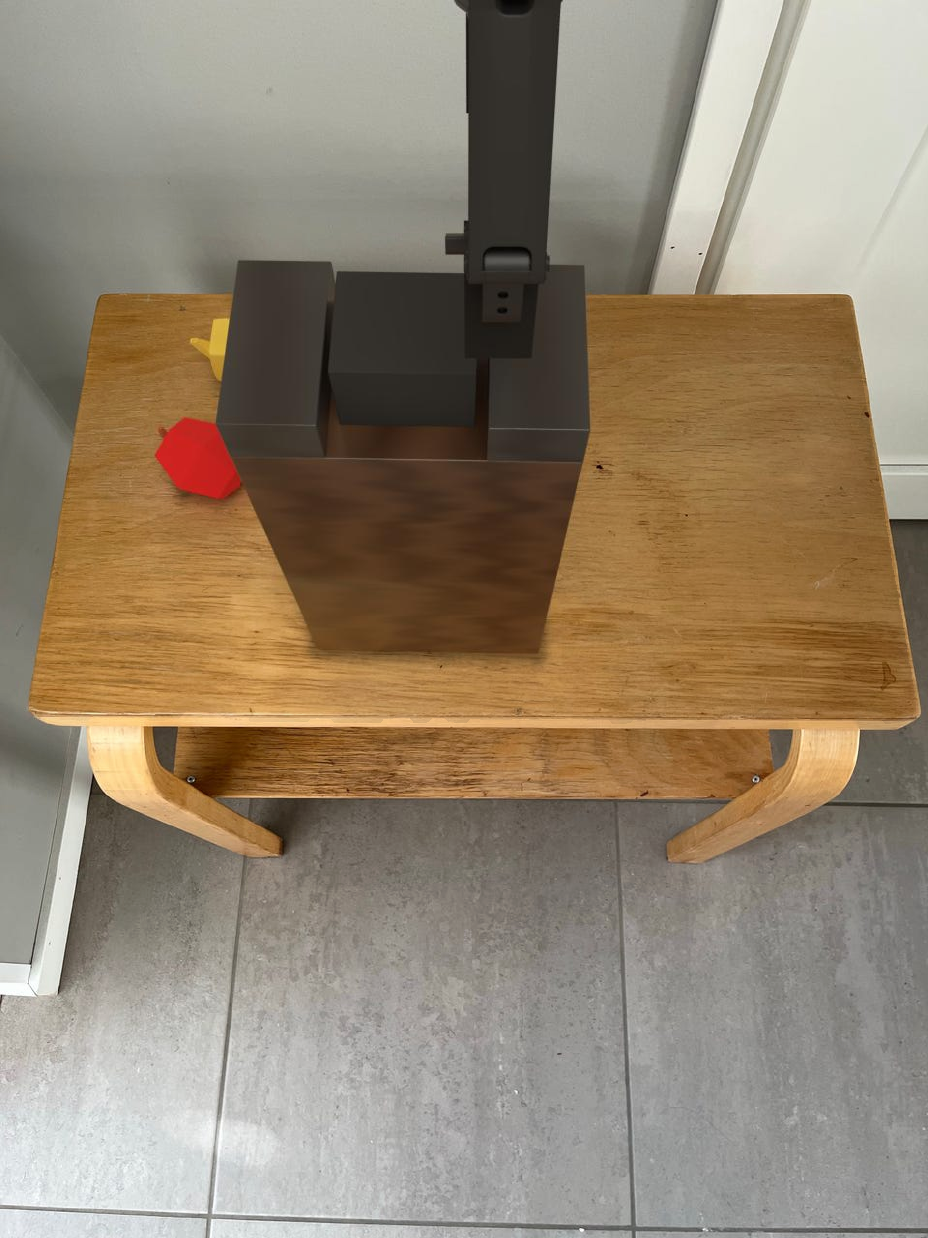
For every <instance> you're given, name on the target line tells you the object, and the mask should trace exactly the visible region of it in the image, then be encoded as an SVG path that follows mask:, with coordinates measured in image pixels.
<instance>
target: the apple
mask: <svg viewBox="0 0 928 1238" xmlns="http://www.w3.org/2000/svg"><path fill="white" fill-rule="evenodd" d="M215 423H216V422H209V421H204V420H201V419H196V418H191V417H186V416H184V417H183V418H181V419H180V420H179V421H178V422H177V423H175V424H174V425H173V426H172V427H170V428H169V429H168V430H166V428H165V427H164V426H162V425H159V426H158V427H157V431H158V435H159V436H160V438H161V439H163V440H162V441H161V443H160V445H159V446H158V448H157V450H156V452H155V453H154V455H153V456H154V458H156V461H158V463H159V464H160V466H161V467H162V468H163V470H164V472H165V473H166V474H167V475H168V476H169V478H170V479H171V481H172V482H173V483H174V484H175V486H176V487H177V489H178V490H181V491H184V492H188V493H191V494H197V495H200V496H205V497H207V498H208V497H209V498H213V499H217V500H221V501H223V500H224V499H226V498H227V497H229V495H231V494H232V493H233V492H234V491H237V490H238V489H239V488H240V487H241V484H242V482H241V479H240V477H239V475H238V473H237V471H236V468H235V466H234V464H233V462H232V460H231V457H230V455H229V453H228V451H227V449H226V446H225V444H224V442H223V440H222V438H221V435H220V433H219V431H218V429H217V427H216V424H215Z"/></svg>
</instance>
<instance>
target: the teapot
mask: <svg viewBox="0 0 928 1238" xmlns="http://www.w3.org/2000/svg"><path fill="white" fill-rule="evenodd" d="M229 320H230V317H229V318H215V319H213V321H212V325H211V331H210V339H209V340H206V339H202V338H199V337H192V338H190V340H189V344H190V345H191V346H193V347H194V348H195V349H196V350H198V351H199V352H200V353H202V354H203V355H204V356H205V357H206V358H208V359H209V363H210V366H211V369H212V373H213V375H214V377H215V379H216V380H217V381H218V382H221V379H222V372H223V364H224V357H225V350H226V342H227V335H228V328H229Z"/></svg>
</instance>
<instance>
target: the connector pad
mask: <svg viewBox="0 0 928 1238" xmlns="http://www.w3.org/2000/svg"><path fill="white" fill-rule="evenodd" d="M335 283H336V285H335V296H334V308H333V319H332V331H331V342H330V353H329V365H328V374H329V379H330V383H331V387H332V392H333V396H334V401H335V405H336V409H337V414H338V418H339V422H340V424H341V425H396V426H455V427H475V408H476V358H465V334H464V272H420V271H419V272H418V271H417V272H414V271H355V270H353V271H351V270H337V271H336V275H335Z"/></svg>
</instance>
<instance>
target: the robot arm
mask: <svg viewBox="0 0 928 1238" xmlns="http://www.w3.org/2000/svg"><path fill="white" fill-rule="evenodd" d="M563 1H564V0H453V2H454V4H455V5H456V7H458V8H459V9H461V10H462V11H463V12H464V13H465V113H466V114H467V220H466V219H463V232H462V233H461V232H460V233H459V232H458V233H454V232H453V233H451V232H450V233H445V234H444V235H445V236H444V249H445V250H444V253H445V255H446V256H461V255H462V256H463V273H464V334H465V358H531V357H532V347H533V337H534V327H535V317H536V307H537V297H538V287H539V284H544V282H545V280H547V272H549V269H550V265H551V256H550V255H549V254H548V235H549V234H548V233H549V219H550V218H549V217H550V202H551V201H550V200H551V185H552V184H551V180H552V167H553V166H552V164H553V148H554V131H555V130H554V129H555V111H556V96H557V95H556V93H557V77H558V76H557V75H558V59H559V42H560V41H559V40H560V26H561V25H560V23H561V8H562V3H563Z"/></svg>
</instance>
